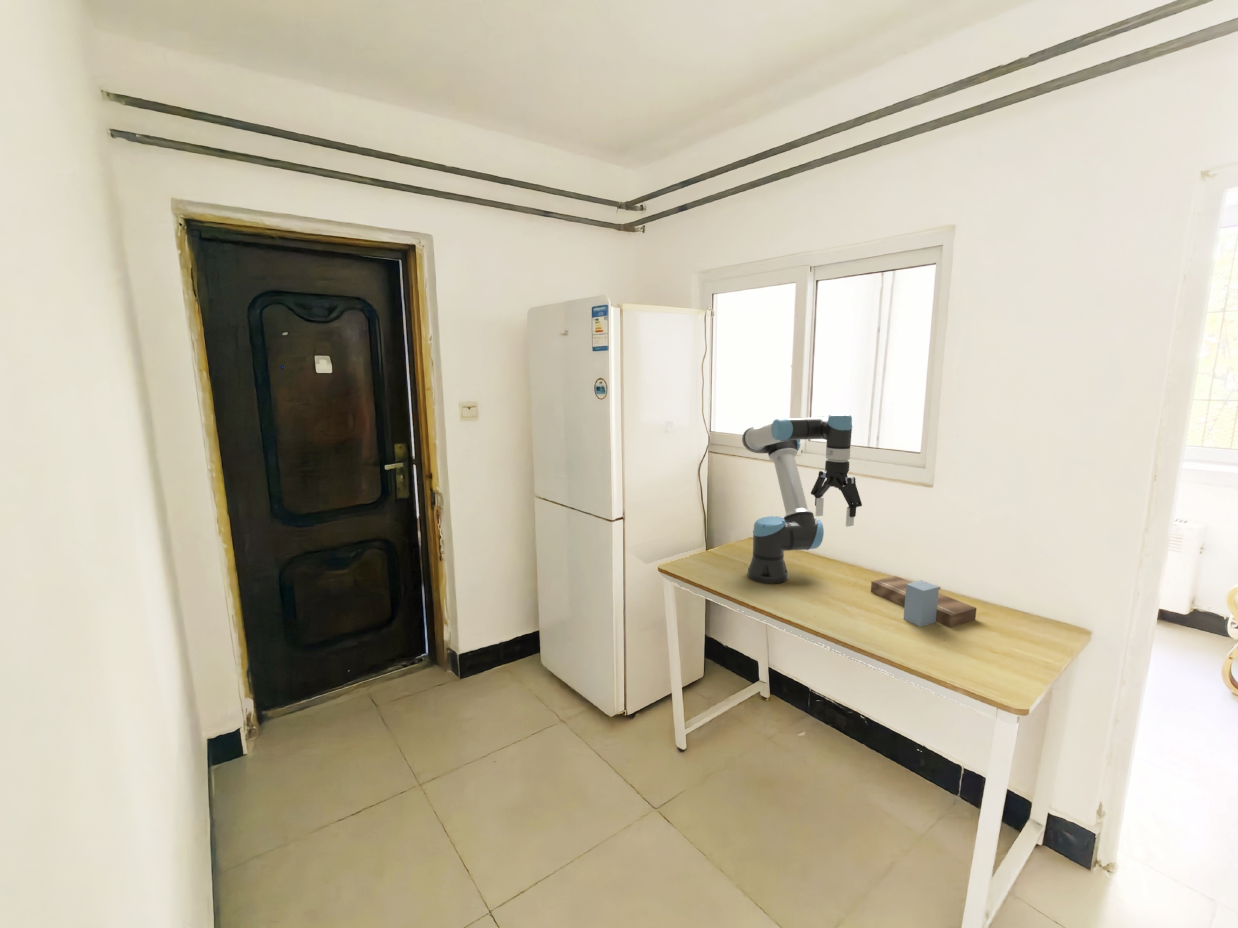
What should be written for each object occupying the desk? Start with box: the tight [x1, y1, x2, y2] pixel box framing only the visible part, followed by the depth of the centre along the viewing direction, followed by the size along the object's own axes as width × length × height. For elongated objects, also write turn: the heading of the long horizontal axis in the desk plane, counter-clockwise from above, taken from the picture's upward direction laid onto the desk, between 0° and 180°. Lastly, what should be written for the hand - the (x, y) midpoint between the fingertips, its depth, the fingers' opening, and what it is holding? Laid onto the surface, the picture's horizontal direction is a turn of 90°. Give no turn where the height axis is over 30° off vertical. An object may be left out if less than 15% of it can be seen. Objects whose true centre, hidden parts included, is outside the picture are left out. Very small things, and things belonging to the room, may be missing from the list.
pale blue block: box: [903, 580, 941, 628], centre depth 170 cm, size 6×11×12 cm, turn 113°
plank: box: [870, 575, 977, 628], centre depth 181 cm, size 30×12×4 cm, turn 23°
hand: (833, 520), depth 183 cm, fingers open, 13 cm apart
